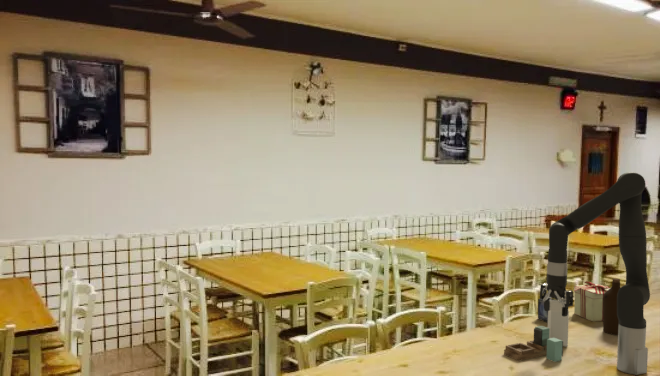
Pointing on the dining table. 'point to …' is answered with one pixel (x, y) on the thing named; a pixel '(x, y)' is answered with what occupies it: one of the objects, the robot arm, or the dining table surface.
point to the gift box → (589, 301)
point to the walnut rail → (530, 346)
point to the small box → (542, 311)
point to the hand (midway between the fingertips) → (555, 313)
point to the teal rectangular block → (554, 349)
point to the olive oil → (611, 308)
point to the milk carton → (558, 322)
